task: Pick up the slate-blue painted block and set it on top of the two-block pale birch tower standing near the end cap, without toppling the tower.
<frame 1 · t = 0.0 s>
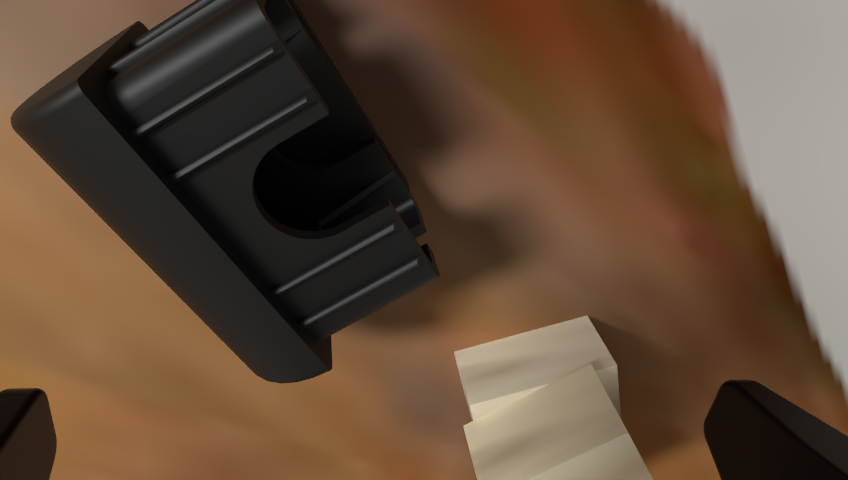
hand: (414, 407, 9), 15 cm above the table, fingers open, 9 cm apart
tower top: (551, 435, 27), point 3 cm above the table, touching tower base
tower base: (527, 377, 30), on the table, touching tower top
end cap: (259, 137, 22), on the table
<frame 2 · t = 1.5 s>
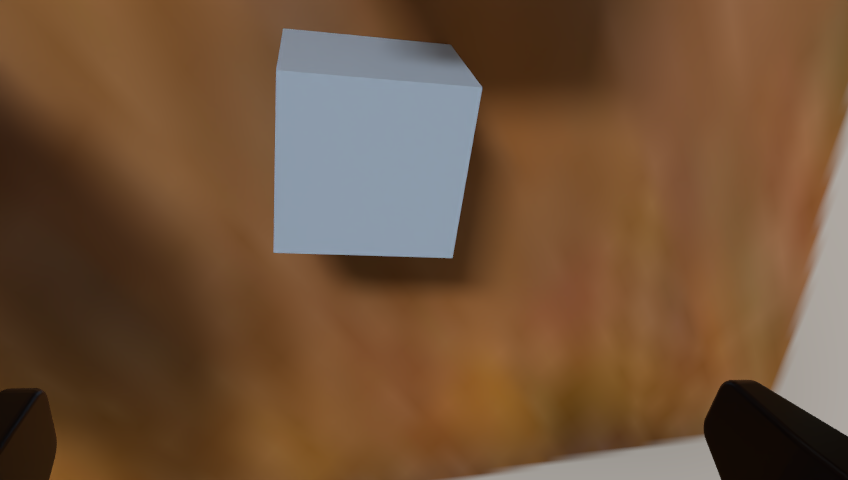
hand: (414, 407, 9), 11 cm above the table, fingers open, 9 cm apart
blue block: (362, 115, 18), on the table
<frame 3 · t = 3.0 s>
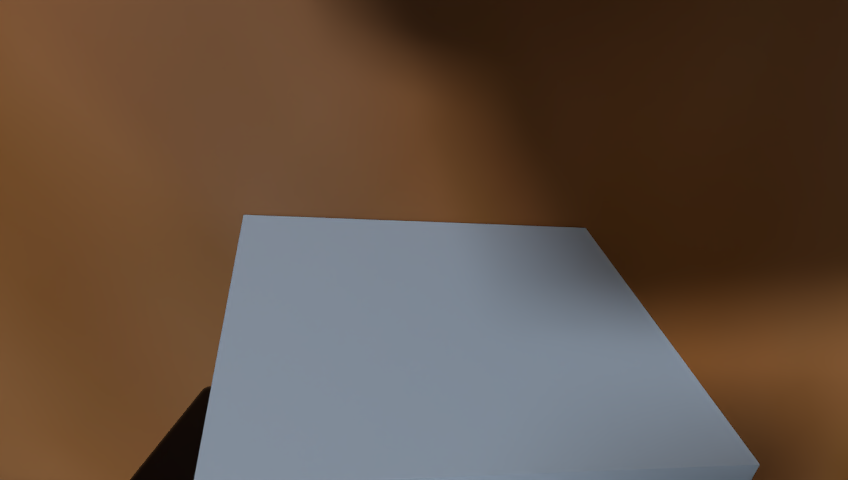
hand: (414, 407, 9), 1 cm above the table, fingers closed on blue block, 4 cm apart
blue block: (404, 355, 9), on the table, touching gripper
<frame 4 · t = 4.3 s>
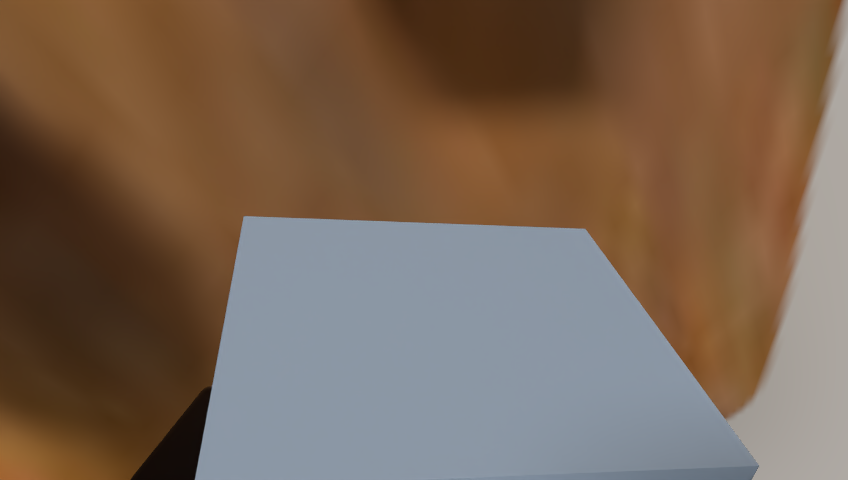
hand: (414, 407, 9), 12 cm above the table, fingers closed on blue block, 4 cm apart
blue block: (404, 356, 9), point 11 cm above the table, touching gripper
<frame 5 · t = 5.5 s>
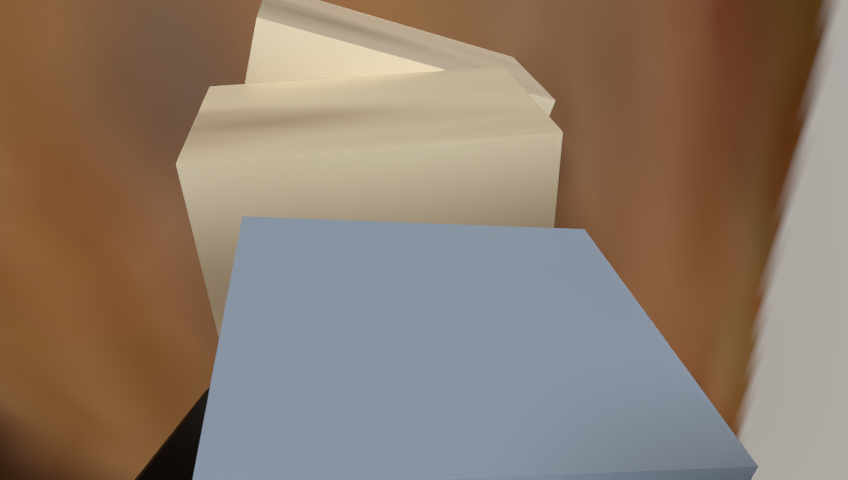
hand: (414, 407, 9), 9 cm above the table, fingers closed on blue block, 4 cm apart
tower top: (370, 205, 14), point 3 cm above the table, touching tower base
blue block: (403, 356, 9), point 8 cm above the table, touching gripper
tower base: (363, 136, 17), on the table, touching tower top
when the fingers open (9 cm above the table, at t = 5.8 s): blue block drops 1 cm, resting on tower top.
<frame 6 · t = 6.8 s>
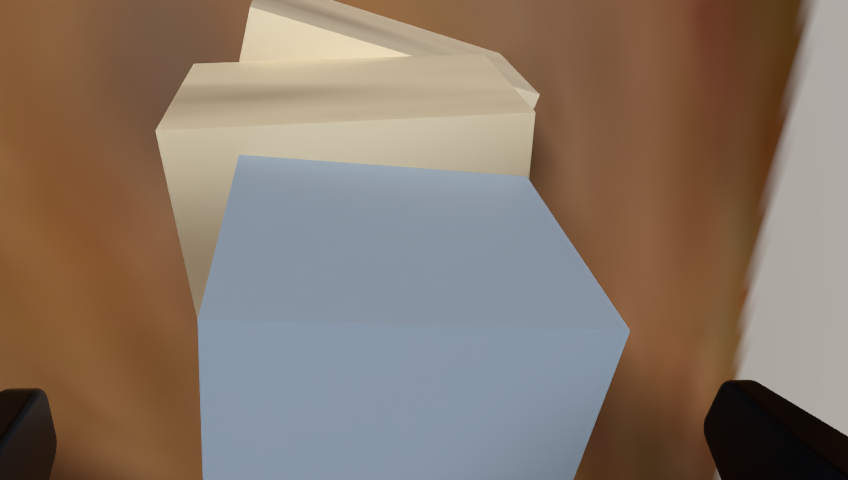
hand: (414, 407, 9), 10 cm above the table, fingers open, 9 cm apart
tower top: (350, 188, 14), point 3 cm above the table, touching blue block, tower base
blue block: (373, 285, 11), point 7 cm above the table, touching tower top
tower base: (353, 129, 17), on the table, touching tower top
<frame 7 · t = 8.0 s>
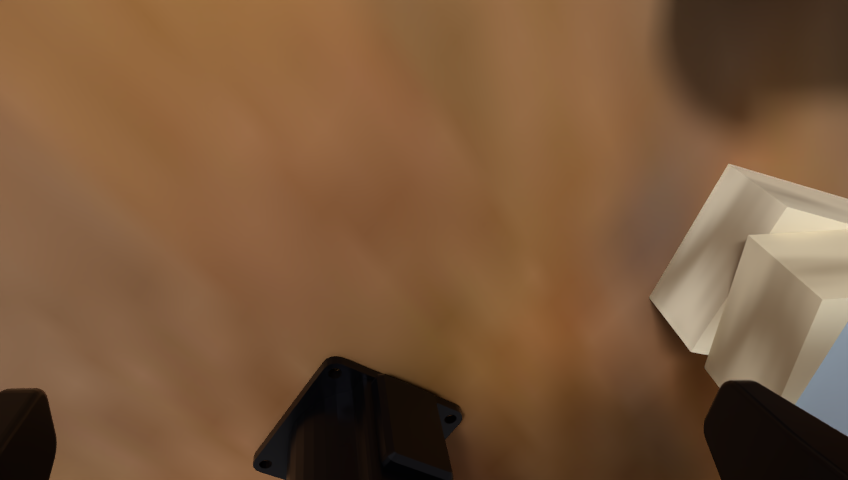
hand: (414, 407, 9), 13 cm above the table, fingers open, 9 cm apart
tower top: (798, 300, 22), point 3 cm above the table, touching blue block, tower base
tower base: (746, 247, 25), on the table, touching tower top
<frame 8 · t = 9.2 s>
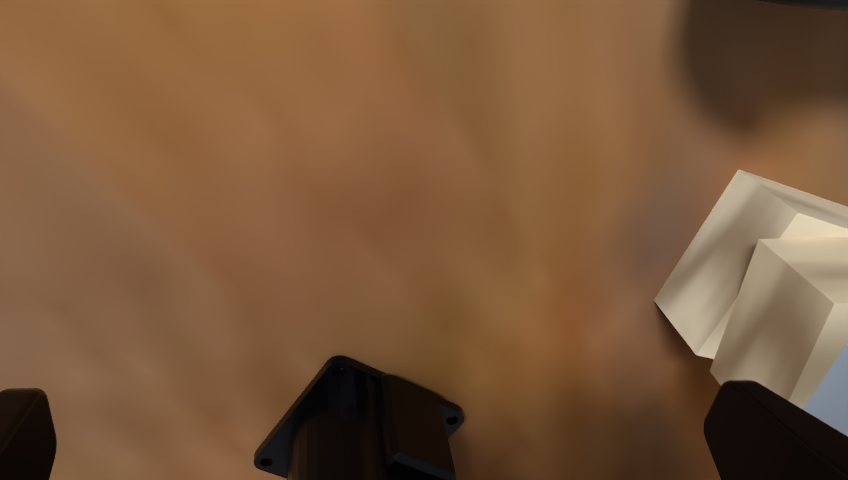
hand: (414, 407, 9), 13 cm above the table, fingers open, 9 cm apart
tower top: (805, 305, 22), point 3 cm above the table, touching blue block, tower base
tower base: (751, 253, 25), on the table, touching tower top
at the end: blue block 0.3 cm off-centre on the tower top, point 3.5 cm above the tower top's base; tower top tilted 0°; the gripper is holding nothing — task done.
